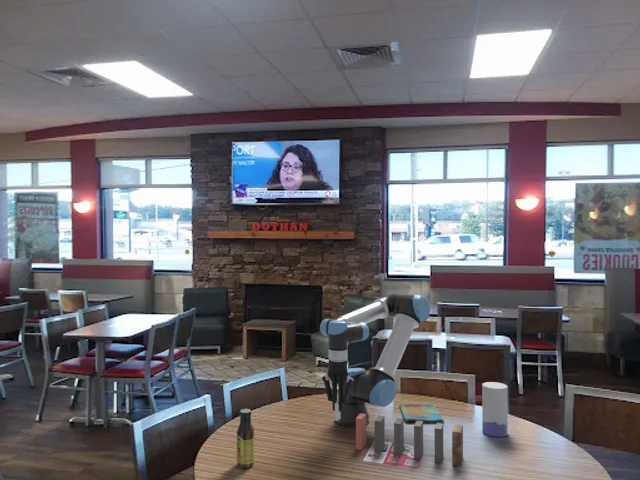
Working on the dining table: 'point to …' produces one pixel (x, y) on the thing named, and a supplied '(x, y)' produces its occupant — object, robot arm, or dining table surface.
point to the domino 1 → (379, 434)
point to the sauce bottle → (245, 440)
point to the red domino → (360, 431)
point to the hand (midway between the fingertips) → (337, 419)
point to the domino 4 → (439, 442)
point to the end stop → (457, 445)
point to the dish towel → (420, 413)
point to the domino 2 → (398, 436)
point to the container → (495, 409)
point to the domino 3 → (418, 439)
